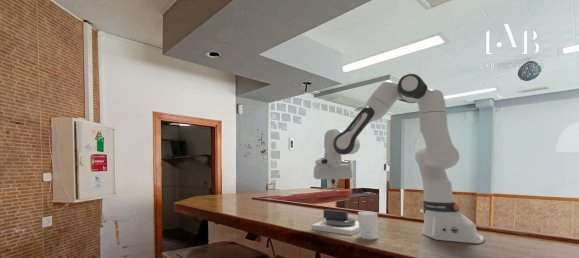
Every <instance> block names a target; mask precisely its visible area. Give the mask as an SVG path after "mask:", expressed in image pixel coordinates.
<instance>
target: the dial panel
mask: <svg viewBox="0 0 579 258" xmlns="http://www.w3.org/2000/svg"><path fill="white" fill-rule="evenodd" d="M311 230H313V231H314V230H315V231H320V232H327V233H328V232H329V233H333V234H338V235H347V236H353V235H356V234H357V233H360V230H359V220H355V225H352V226H332V225H328V224H326V219H324V220H322V221H319V222H316V223H313V224H311Z"/></svg>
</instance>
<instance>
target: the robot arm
mask: <svg viewBox="0 0 579 258" xmlns="http://www.w3.org/2000/svg"><path fill="white" fill-rule="evenodd" d="M427 85H428V84H426V83H425V81H424V80H423V79H422V77H420V76H419V75H418V74H416V73H407V74H404V75H403V76H401V77H400V79H399V80H398V82H395V81H392V80H384V81H383V82H382V83H380V85H379V86H377V87H376V89H374V91H373V92H372V93H371V95H370V96H369V98H367V101H366V102H365V104H364V106H363V107H362V109H361V110H360V111H359V112H358V114H357V115H356V116H355V118H354V119H353V120H352V121H351V122H350V124H349V125H347V127H346V128H345V129H344V130H343V131H342V130H340V129H338V128H337V129H335V128H334V129H329V130H327V131H326V132H325V134H324V140H323V149H324V153H323V157H321V158H318V159H316V160H315V165H314V166H313V167H314V168H313V178H314V179H315V180H327V182H328V184H329V188H330V189H337V185H338V182H339V181H340V180H347V179H348V180H349V179H351V180H352V177H353V171H352V162H351V161H349V160H342V155H344V156H345V155H354V154H356V153H357V152H359V150H360V147H361V143H360V139H358V136H359V135H360V134H361V133H362V131H364V129H365V128H366V127H367V126H368V125H369V124H370V123H372V122H374V121H377V120H378V121H379V120H380V119H382V118H383V117H384V116H385V115H386V114H387V113H388V112H389V111H390V109H391V107H393V106H394V103H396V102H397V101H400V102H405V103H407V104H415V103H417V106H418V116H419V121H418V122H419V132H420V133H421V135H422V137H423V140H424V143H425V144H424V145H423V146H421V147H420V148H418V149H417V151H416V152H415V156H414V158H415V162H416V163H417V165H418V168H419V172H420V175H421V180H422V188H423V189H422V190H423V202H422V207H423V209H422V210H423V214H424V215H423V216H424V219H423V229H422V232H421V234H422V235H424V236H426V237H429V238H432V239H434V240H437V241H438V240H439V241H446V242H447V241H448V242H459V243H467V244H468V243H469V244H482V243H484V242H485V238H484V235H483V234H479V233H478V232H477V231H478V230H477V226H476V225H475V223H474V221H472V220H471V219H469V217H467V216H466V215H464V214H463V213H461V212H460V206H459V203H456V202H454V200H453V197H454V196H453V190H452V189H453V188H452V182H451V180H450V179H449V178H448V175H447V171H446V170H448V169H450V168H453V167H455V166H456V165H457V164H458V162H459V160H460V153H459V151H458V149H457V148H456V147H455V146H454V144H453V141H452V139H451V136H450V132H449V128H448V117H447V116H448V115H447V114H448V113H447V107H446V106H447V105H446V100H445V96H444V94H443V92H442V91H441V90H439V89H435V88H428V86H427ZM332 180H334V183H333V182H332Z"/></svg>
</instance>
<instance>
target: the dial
mask: <svg viewBox="0 0 579 258" xmlns="http://www.w3.org/2000/svg"><path fill="white" fill-rule="evenodd" d="M348 212H349V211H343V210H335V209H334V210H333V209H326V208H325V209H323V219H325V220H326V224H328V225H332V226H352V225H355V221H356V220H355V219H354V218H351V217H349V213H348Z"/></svg>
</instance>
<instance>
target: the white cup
mask: <svg viewBox="0 0 579 258" xmlns="http://www.w3.org/2000/svg"><path fill="white" fill-rule="evenodd" d="M357 216H358V219H357V220H358V221H359V230H360V231H359V237H360V239H364V240H376V239H377V238H378V213H377V212H374V211H365V210H363V211H362V210H361V211H358V212H357Z"/></svg>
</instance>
